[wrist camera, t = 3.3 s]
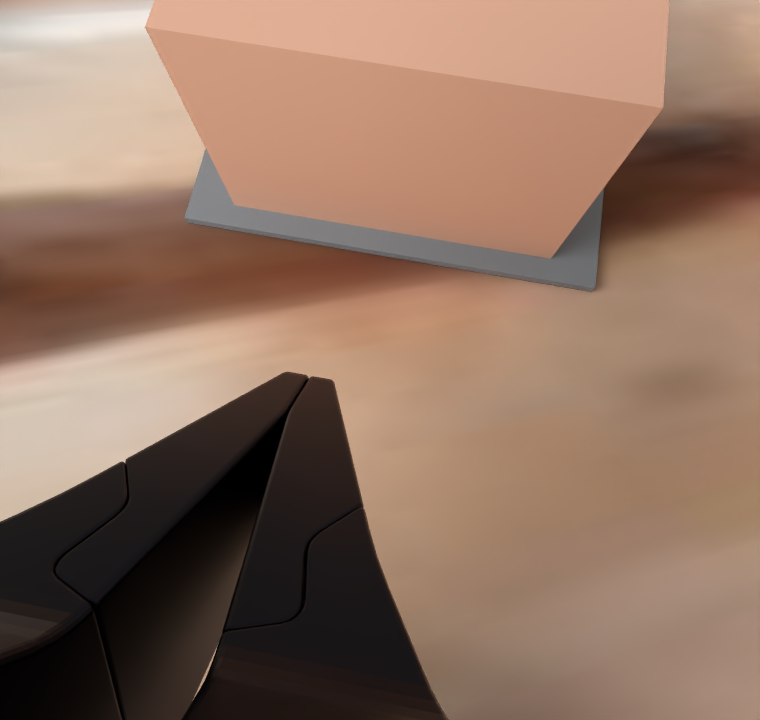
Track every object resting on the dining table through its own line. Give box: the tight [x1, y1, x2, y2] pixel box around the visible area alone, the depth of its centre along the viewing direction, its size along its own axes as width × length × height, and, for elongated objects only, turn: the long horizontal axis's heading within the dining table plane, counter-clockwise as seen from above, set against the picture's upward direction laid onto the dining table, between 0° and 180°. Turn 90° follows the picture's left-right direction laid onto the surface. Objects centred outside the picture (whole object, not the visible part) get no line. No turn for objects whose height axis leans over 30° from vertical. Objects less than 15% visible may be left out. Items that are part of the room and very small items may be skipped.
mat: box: [185, 150, 604, 292], centre depth 25 cm, size 23×18×1 cm
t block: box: [145, 0, 669, 259], centre depth 20 cm, size 13×14×9 cm
